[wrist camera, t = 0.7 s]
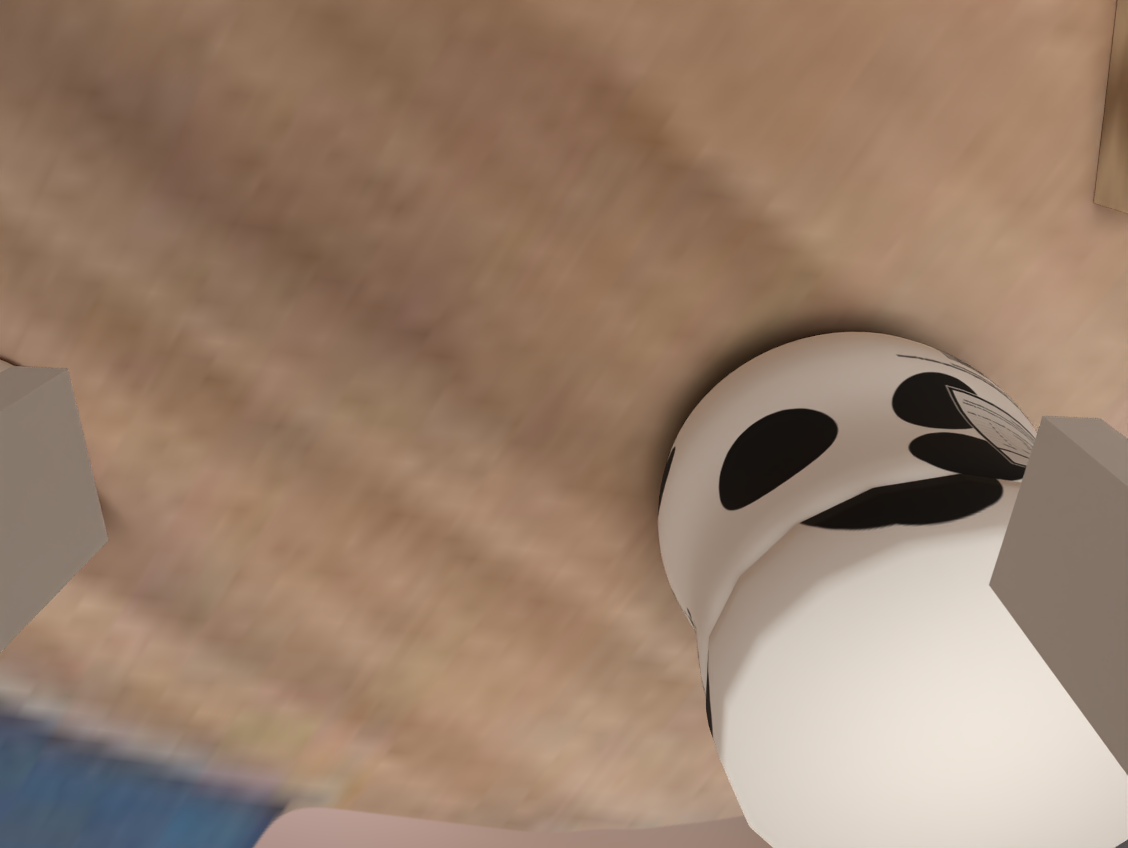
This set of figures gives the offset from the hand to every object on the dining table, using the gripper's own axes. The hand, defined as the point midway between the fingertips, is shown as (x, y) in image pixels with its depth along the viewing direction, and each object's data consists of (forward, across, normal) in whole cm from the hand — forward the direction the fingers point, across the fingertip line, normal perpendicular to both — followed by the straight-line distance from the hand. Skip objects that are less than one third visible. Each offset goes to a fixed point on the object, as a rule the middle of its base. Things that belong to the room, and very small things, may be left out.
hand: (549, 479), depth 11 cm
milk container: (+28, +13, -14) cm, 34 cm away
